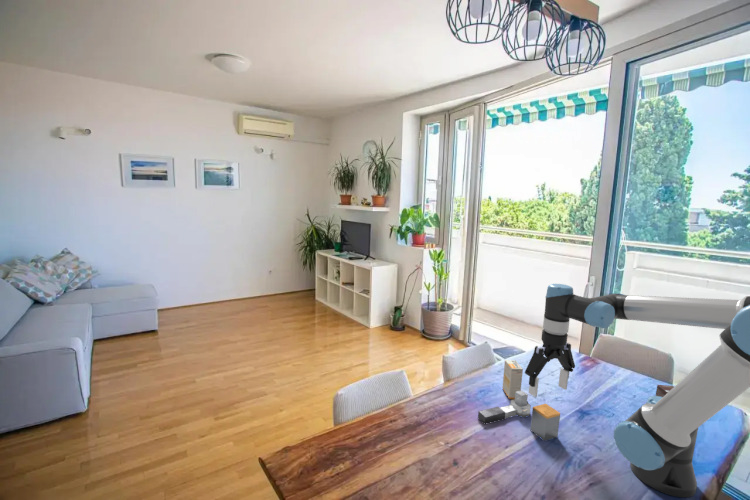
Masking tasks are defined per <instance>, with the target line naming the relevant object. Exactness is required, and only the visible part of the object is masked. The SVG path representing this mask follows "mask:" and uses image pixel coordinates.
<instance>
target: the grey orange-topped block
mask: <svg viewBox="0 0 750 500" xmlns="http://www.w3.org/2000/svg"><path fill="white" fill-rule="evenodd" d="M560 418H561V412H560V411H558V410H557V409H555V408H554V407H552V406H550V405H549V404H547V403H543V404H539V405H535V406H532V410H531V420H530V431H531V430H532V431H533V432H534V433H535V435H536V434H537V435H538V436H539V437H538V436H537V435H536V436H537V437H538V438H540V437H541V438H542V439H543V440H542V439H541V438H540V439H541V440H542V441H544V442H546V441H545V440H547V441H549V439H550V440H553V439H556V438H558V437H559V429H560V428H559V427H560V420H561V419H560ZM532 431H531V432H532ZM533 432H532V433H533ZM534 433H533V434H534ZM555 437H556V438H555ZM552 438H553V439H552Z"/></svg>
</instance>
